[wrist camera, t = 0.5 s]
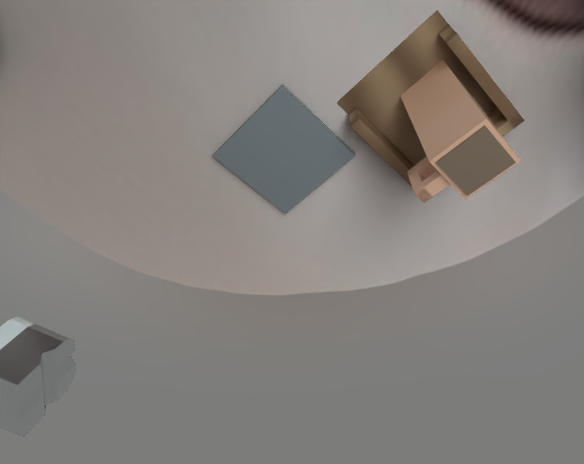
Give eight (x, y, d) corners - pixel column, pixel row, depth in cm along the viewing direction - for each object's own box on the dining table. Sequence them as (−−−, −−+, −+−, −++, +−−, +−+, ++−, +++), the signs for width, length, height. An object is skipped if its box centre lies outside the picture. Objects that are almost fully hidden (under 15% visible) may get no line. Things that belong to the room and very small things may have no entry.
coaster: (282, 84, 52) (282, 86, 51) (354, 153, 57) (355, 155, 56) (213, 154, 57) (212, 156, 57) (285, 211, 62) (285, 213, 62)
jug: (442, 59, 50) (487, 119, 38) (472, 95, 52) (522, 162, 41) (379, 114, 54) (401, 184, 42) (409, 145, 56) (438, 219, 45)
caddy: (436, 9, 47) (446, 19, 44) (511, 106, 53) (524, 120, 50) (337, 101, 53) (339, 115, 50) (414, 178, 59) (421, 195, 56)
